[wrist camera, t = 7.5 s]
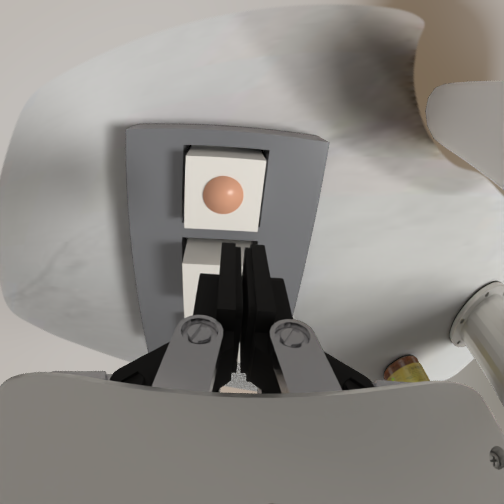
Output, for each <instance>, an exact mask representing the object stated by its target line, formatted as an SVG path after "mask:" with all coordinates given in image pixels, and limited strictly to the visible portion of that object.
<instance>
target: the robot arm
mask: <svg viewBox="0 0 504 504" xmlns="http://www.w3.org/2000/svg"><path fill="white" fill-rule="evenodd" d="M450 339H451V341H452V342H453V344H454V345H455V346H457V347H464V346H467V348H468V349H469V351H470V352H471V354H472V355H473V357H474V358H475V360H476V361H477V363H478V364H479V366H480V368H481V369H482V371H483V372H484V374H485V375H486V377H487V379H488V380H489V382H490V384H491V386H492V387H493V389H494V391H495V392H496V394H497V396H498V397H499V399H500V401H501V403H502V405H503V406H504V284H503V283H500V282H495V283H491V284H489V285H487V286H485V287H484V288H482V289H481V290H479V291H478V292H477V293H476V294H475V295H474V296H473V297H472V298H471V299H470V300H469V301H468V302H467V303H466V304H465V305H464V307H463V308H462V309H461V311H460V312H459V314H458V315H457V317H456V318H455V320H454V322H453V325H452V328H451V331H450ZM239 343H240V370H241V373H246V382H252V383H253V384H254V385H255V386H257V387H258V389H257V391H258V394H248V393H247V394H246V393H220V388H221V387H222V386H224V385H225V384H227V383H228V382H229V381H231V373H236V369H237V361H238V352H239ZM0 504H504V434H503V432H502V430H501V428H500V426H499V424H498V422H497V420H496V418H495V416H494V414H493V413H492V411H491V409H490V408H489V406H488V405H487V403H486V401H485V400H484V399H483V397H481V395H480V394H479V393H478V392H477V391H476V390H475V389H473V388H472V387H470V386H467V385H464V384H461V383H456V382H451V381H422V382H399V381H386V380H376V381H375V382H374V383H373V382H371V381H370V380H369V379H368V378H367V377H365V376H364V375H362V374H361V373H359V372H357V371H355V370H354V369H352V368H350V367H349V366H347V365H345V364H344V363H342V362H340V361H339V360H337V359H335V358H334V357H332V356H330V355H329V354H327V353H325V352H324V351H323V349H322V347H321V345H320V343H319V341H318V339H317V337H316V335H315V333H314V331H313V330H312V329H311V327H309V326H308V325H307V324H305V323H303V322H301V321H298V320H294V319H293V317H292V313H291V308H290V304H289V300H288V295H287V291H286V287H285V283H284V279H283V278H271V277H270V272H269V266H268V261H267V255H266V249H265V245H257V244H251V245H250V248H249V247H245V251H244V260H243V270H242V266H241V247H236V243H228V242H222V247H221V259H220V271H219V274H206V273H200V275H199V281H198V287H197V293H196V299H195V305H194V311H193V315H192V316H189V317H186V318H184V319H183V320H181V321H180V322H179V323H178V325H177V326H176V329H175V331H174V333H173V336H172V338H171V341H170V342H168V343H166V344H164V345H162V346H161V347H159V348H157V349H155V350H153V351H151V352H150V353H148V354H146V355H144V356H142V357H140V358H138V359H136V360H135V361H133V362H131V363H129V364H127V365H125V366H123V367H122V368H120V369H118V370H117V371H115V372H114V373H113V374H106V372H105V371H87V372H83V371H81V372H80V371H78V372H76V371H75V372H73V371H53V372H34V373H25V374H21V375H17V376H14V377H11V378H9V379H8V380H6V381H5V382H4V383H3V384H2V385H1V386H0Z"/></svg>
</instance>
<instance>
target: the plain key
mask: <svg viewBox="0 0 504 504" xmlns="http://www.w3.org/2000/svg"><path fill="white" fill-rule="evenodd" d="M222 242H228V243H236V247H241V266H242V270H243V260H244V251H245V247H249V248H250V245H251V244H252V241H247V240H228V239H209V238H188V240H187V244H186V249H185V253H184V258H183V262H182V273H183V300H184V318H186V317H189V316H192V315H193V311H194V305H195V299H196V293H197V287H198V281H199V275H200V273H206V274H219V271H220V259H221V247H222Z"/></svg>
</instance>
